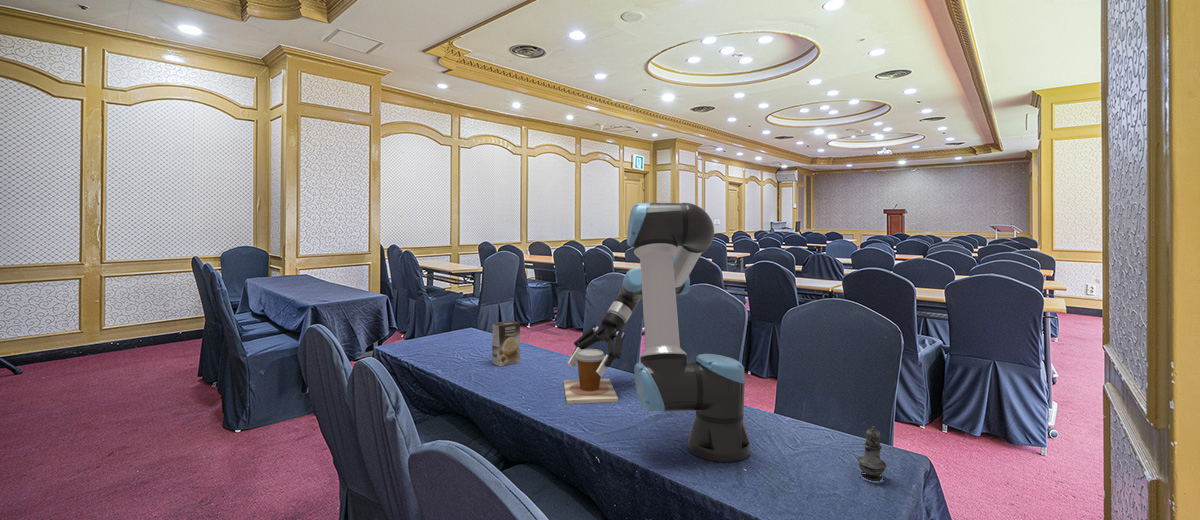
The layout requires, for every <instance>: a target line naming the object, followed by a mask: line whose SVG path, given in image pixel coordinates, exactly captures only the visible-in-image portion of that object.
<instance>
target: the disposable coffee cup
mask: <svg viewBox="0 0 1200 520" xmlns="http://www.w3.org/2000/svg"><path fill="white" fill-rule="evenodd" d="M605 356H606V355H605V354H604V352H603V351H602V350H601V349H595V348H585V349H582V350H579V351H578V352H577V355H576V358H577V363H576V364H577V371H578V380H579V382H580V388H581V389H582V390H585V391H594V390H598V389H599V385H600V379H602V377H601V376H600V375H599V374H598V373H597V372H596V371H597V369H598V367H599V366H600V364H601V363H602V361H603V359H604V358H605Z"/></svg>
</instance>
